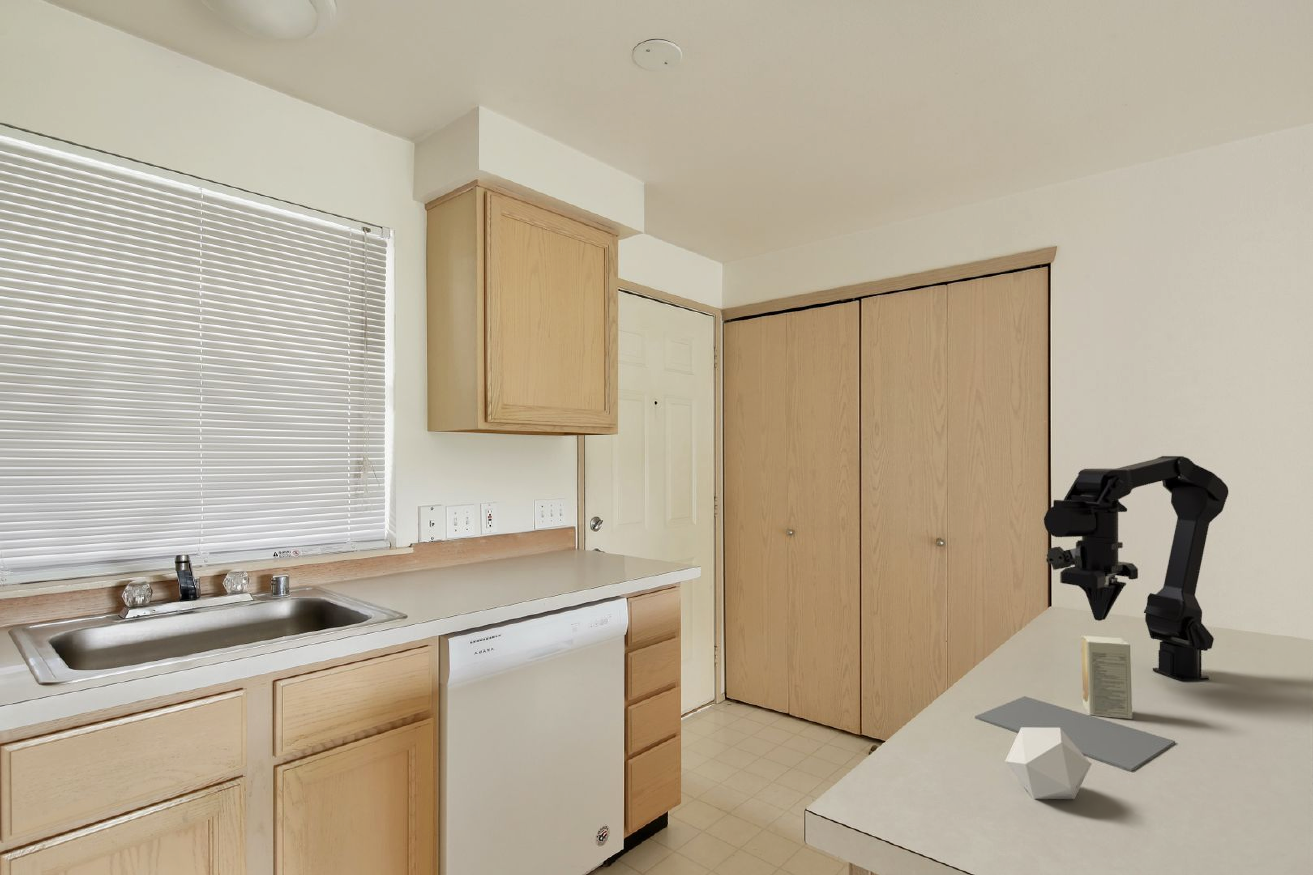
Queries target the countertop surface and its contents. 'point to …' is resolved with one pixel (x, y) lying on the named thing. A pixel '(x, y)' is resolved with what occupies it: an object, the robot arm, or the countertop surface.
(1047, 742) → the die
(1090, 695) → the skincare box
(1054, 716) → the mat
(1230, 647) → the countertop surface
